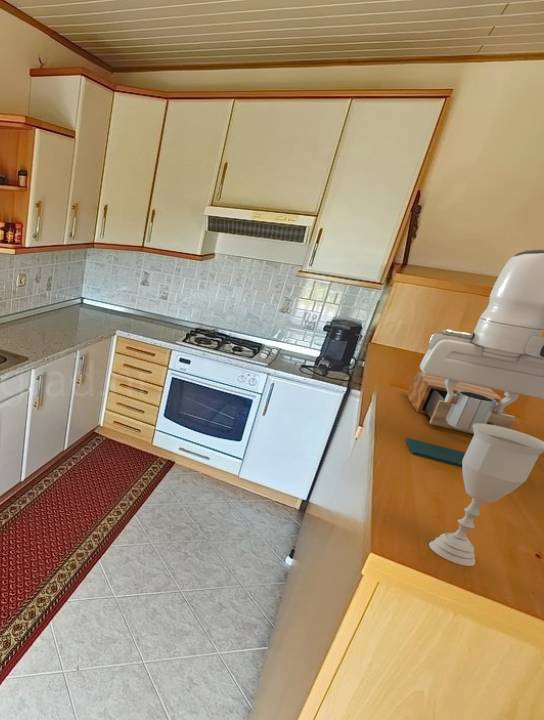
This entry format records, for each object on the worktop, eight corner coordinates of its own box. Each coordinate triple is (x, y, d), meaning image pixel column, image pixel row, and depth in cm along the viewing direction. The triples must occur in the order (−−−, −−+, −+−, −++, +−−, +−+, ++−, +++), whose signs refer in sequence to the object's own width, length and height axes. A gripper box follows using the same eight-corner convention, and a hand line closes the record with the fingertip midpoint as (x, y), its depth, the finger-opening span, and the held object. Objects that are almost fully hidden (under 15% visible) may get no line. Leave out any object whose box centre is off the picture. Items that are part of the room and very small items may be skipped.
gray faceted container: (476, 426, 97) (490, 395, 95) (485, 436, 92) (500, 404, 90) (442, 418, 99) (454, 388, 97) (449, 427, 94) (462, 396, 92)
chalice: (420, 553, 66) (476, 434, 60) (417, 530, 71) (468, 418, 65) (490, 579, 62) (557, 455, 56) (481, 552, 68) (542, 436, 62)
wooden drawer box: (512, 450, 103) (524, 425, 101) (435, 431, 108) (445, 407, 106) (485, 421, 119) (495, 399, 117) (419, 406, 124) (427, 385, 122)
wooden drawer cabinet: (490, 429, 116) (504, 400, 114) (416, 412, 123) (428, 384, 120) (472, 411, 129) (485, 384, 126) (407, 396, 135) (417, 370, 132)
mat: (488, 460, 98) (489, 458, 98) (501, 477, 92) (502, 474, 92) (405, 440, 104) (406, 437, 104) (412, 454, 98) (413, 451, 97)
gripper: (438, 329, 91) (410, 397, 96) (585, 354, 83) (546, 428, 87) (431, 324, 97) (405, 389, 101) (568, 347, 88) (533, 417, 93)
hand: (472, 407), depth 94 cm, fingers closed on gray faceted container, 5 cm apart
